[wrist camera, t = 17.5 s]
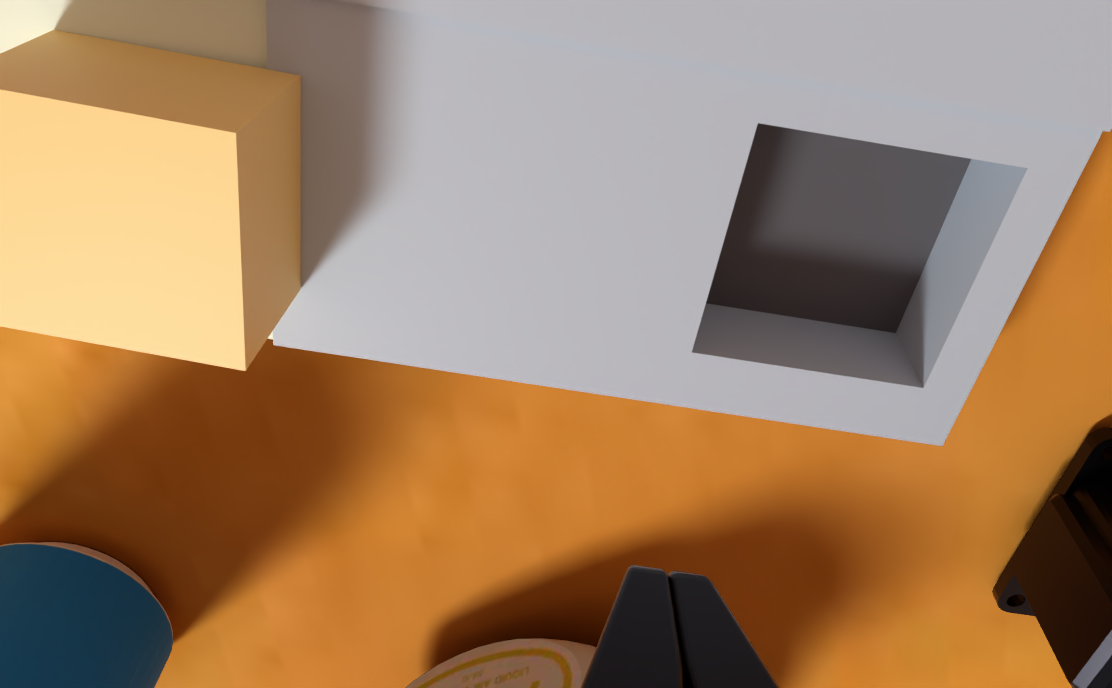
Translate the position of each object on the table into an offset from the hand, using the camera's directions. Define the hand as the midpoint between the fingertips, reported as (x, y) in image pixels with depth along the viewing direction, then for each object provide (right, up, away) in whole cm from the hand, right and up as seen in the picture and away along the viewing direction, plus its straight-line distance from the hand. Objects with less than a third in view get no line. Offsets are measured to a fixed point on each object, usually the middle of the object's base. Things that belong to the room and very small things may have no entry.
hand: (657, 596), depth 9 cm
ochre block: (-8, +6, +8) cm, 13 cm away
